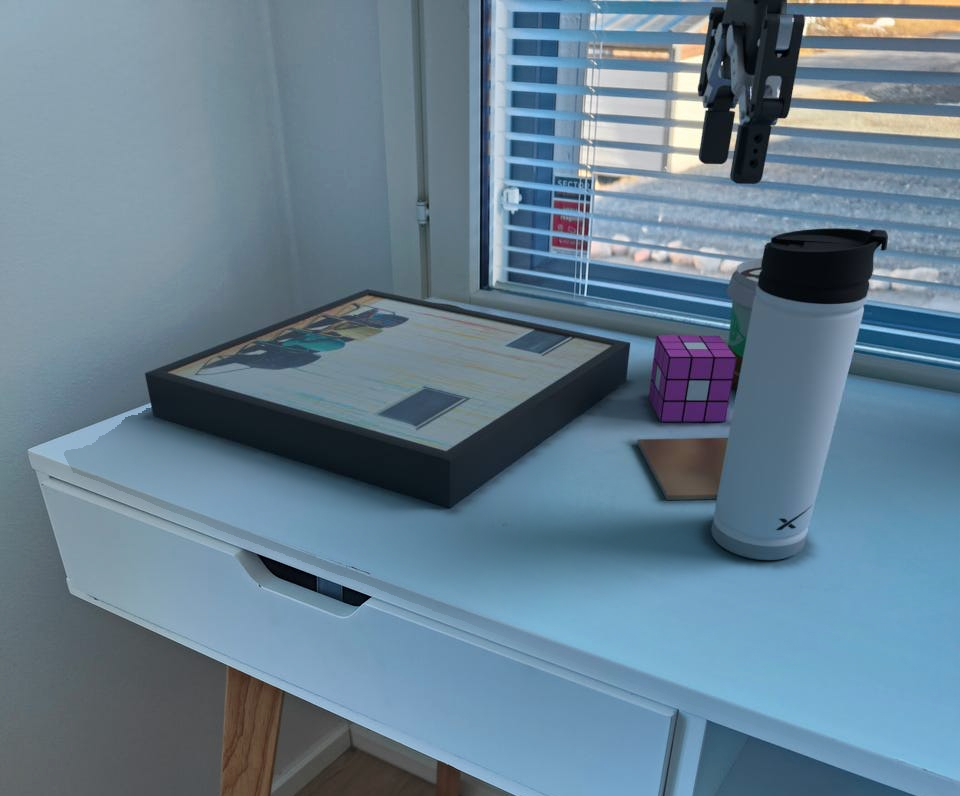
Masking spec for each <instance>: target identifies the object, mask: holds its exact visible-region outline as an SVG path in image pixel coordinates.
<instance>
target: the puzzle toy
mask: <svg viewBox="0 0 960 796" xmlns="http://www.w3.org/2000/svg"><path fill="white" fill-rule="evenodd" d="M736 359H737V358H736V357H735V355H734V354H733V353H732V351H731V350H730V349H729V347H728V344H727V343H726V342H725V341H724V339H723V338H722V337H721V335H688V334H687V335H685V334H684V335H681V334H679V335H677V334H676V335H675V334H674V335H673V334H672V335H671V334H670V335H669V334H667V335H665V334H664V335H663V334H662V335H661V334H660V335H656V336H655V343H654V351H653V359H652V364H651V365H652V367H651V374H650V381H649V390H648V400H649V401H650V403H651V405H652V407H653V409H654V411H655V413H656V415H657V417H658V419H659V422H661V423H681V422H683V423H724V422H726V420H727V414H728V410H729V409H728V408H729V403H730V398H731V392H732V382H733V380H732V379H733V376H734V371H735V365H736Z"/></svg>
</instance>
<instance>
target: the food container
mask: <svg viewBox="0 0 960 796" xmlns="http://www.w3.org/2000/svg"><path fill="white" fill-rule="evenodd" d="M762 258H763V257H757V258H753V259H749V260H745V261H742V262H741V263H739V264H738V265H737V267H736V269H735V271H734V272H733V273H732V275H731V277H730V279H729V283H728V285H727V288H726V292H725V293H726V296H727V297H728V298H729V299H730V300H731V301H732V302H731V313H730V324H729V332H728V343H727V346H728V347H729V349H730V350H731V351H732V353H733V354H734V355H735V357H736V358H737V359H736V365H735V371H734V376H733V379H732V380H733V382H732V387H731V389H733V390H735V391H737V388H738V382H739V377H740V372H741V366H742V361H743V355H744V350H745V345H746V339H747V334H748V328H749V323H750V318H751V312H752V307H753V301H754V297H755V296H756V295H757V294H756V285H757V282H758V280H759V274H760V272H761V271H762V268H761V264H762Z"/></svg>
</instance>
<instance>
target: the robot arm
mask: <svg viewBox="0 0 960 796" xmlns="http://www.w3.org/2000/svg"><path fill="white" fill-rule="evenodd" d="M787 9H788V0H726V5H725V6H712V7H711V10H710V12H709V15H708V25H707V31H706V37H705V43H704V49H703V55H702V62H701V67H700V68H701V69H700V74H699V81H698V85H697V95H698V97H701V98H702V108H704V109H705V111H704V117H703V125H702V131H701V137H700V144H699V145H700V146H699V151H698V160H699V161H700V162H701V163H703V165H723V164H725V163H726V162H727V160H728V158H729V152H730V147H731V140H732V133H733V128H734V123H735V116H736V111H734V110H735V109H736V107H737V104H738V112H739V113H738V122H739V124H738V125H737V126H738V127H737V132H736V136H735V137H736V138H735V144H734V149H733V156H732V161H731V168H730V174H729V178H730V180H731V181H732V182H734V183H735V184H737V185H756V184H759V183H760V182H761V181H762V179H763V175H764V169H765V164H766V160H767V153H768V148H769V143H770V137H771V133H772V126H774V127H775V126H776V125H777V123H778V120H779V119H780V120H781V119H787V117H788V116H789V113H790V111H791V103H792V98H793V93H794V86H795V80H796V75H797V69H798V63H799V58H800V51H801V46H802V41H803V36H804V29H805V24H806V23H805V21H806V18H805V14H800V13H799V14H796V13H795V14H794V13H787Z"/></svg>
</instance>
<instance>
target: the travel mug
mask: <svg viewBox="0 0 960 796" xmlns="http://www.w3.org/2000/svg"><path fill="white" fill-rule="evenodd" d="M888 240H889V235H888V233H887V230H883V229H870V231H869V230H865V229H858V228H844V227H843V228H841V227H840V228H839V227H836V228H834V227H831V228H830V227H829V228H828V227H827V228H826V227H825V228H811V229H800V230H793V231H789V232H784V233H780V234H777V235H774V236H773V237H771V238H770V242H767V243H766V244H765V245H764V249H763V255H762V257H761V258H762V264H761V268H762V271H761V272H760V274H759V280H758V282H757V285H756V294H757V295H756V296H755V297H754V301H753V307H752V312H751V318H750V323H749V328H748V334H747V339H746V345H745V350H744V355H743V361H742V366H741V372H740V377H739V382H738V388H737V390H736V395H735V399H734V400H735V401H734V405H733V410H732V416H731V421H730V426H729V431H728V437H727V438H728V442H727V447H726V453H725V458H724V463H723V469H722V474H721V479H720V485H719V490H718V496H717V499H716V500H715V501H716V502H715V508H714V513H713V516H712V517H713V518H712V523H711V530H710V532H711V536H712V537H713V539H714V540H715V542H716V543H717V544H718V545H719V546H720V547H722V548H723V549H724V550H726V551H728V552H730V553H732V554H734V555H738V556H740V557H743V558H746V559H752V560H759V561H777V560H783V559H786V558H787V559H788V558H790V557H793V556H795V555H797V554H799V553H800V552H801V550H803V549H804V546H805V543H806V540H807V535H808V532H809V526H810V523H811V520H812V517H813V511H814V508H815V504H816V500H817V496H818V493H819V489H820V485H821V482H822V476H823V473H824V469H825V465H826V461H827V457H828V453H829V449H830V445H831V442H832V438H833V434H834V430H835V426H836V422H837V418H838V413H839V410H840V405H841V403H842V398H843V394H844V390H845V388H846V387H845V386H846V383H847V378H848V376H849V375H848V374H849V370H850V367H851V363H852V359H853V355H854V351H855V347H856V343H857V340H858V335H859V332H860V328H861V323H862V320H863V316H864V312H865V307H864V306H865V305H866V302H867V301H868V297H869V295H868V292H869V288H870V282H869V281H870V279H871V278H872V276H873V273H874V257H875V256H874V255H875V251H876V250H877V249H878V248H879V247H880V251H886V250H887V247H888V242H889V241H888Z"/></svg>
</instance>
